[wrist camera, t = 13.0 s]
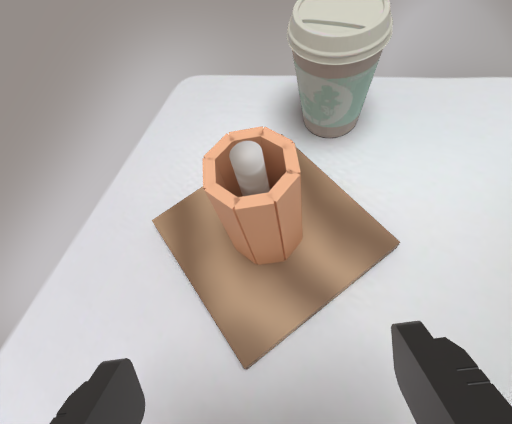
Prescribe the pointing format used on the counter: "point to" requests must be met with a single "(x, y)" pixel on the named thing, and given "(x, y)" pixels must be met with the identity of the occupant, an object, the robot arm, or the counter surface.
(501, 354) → the counter surface
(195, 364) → the counter surface
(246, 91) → the counter surface
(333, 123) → the coffee cup
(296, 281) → the post
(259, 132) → the collar
